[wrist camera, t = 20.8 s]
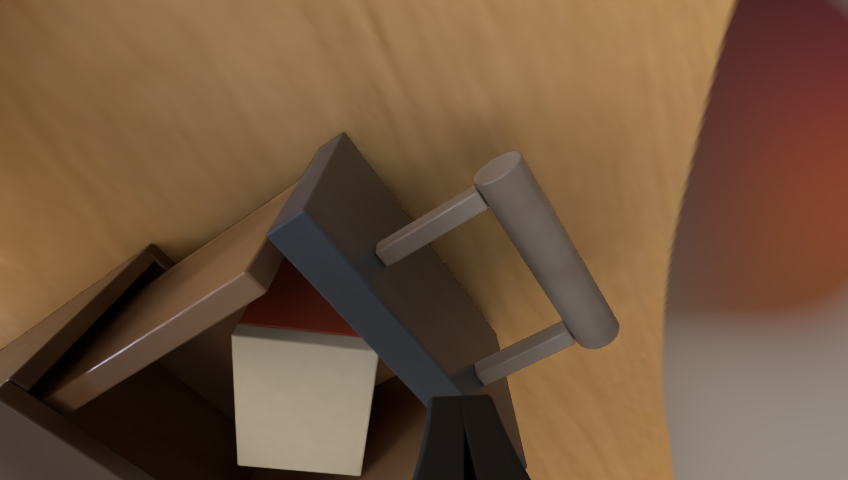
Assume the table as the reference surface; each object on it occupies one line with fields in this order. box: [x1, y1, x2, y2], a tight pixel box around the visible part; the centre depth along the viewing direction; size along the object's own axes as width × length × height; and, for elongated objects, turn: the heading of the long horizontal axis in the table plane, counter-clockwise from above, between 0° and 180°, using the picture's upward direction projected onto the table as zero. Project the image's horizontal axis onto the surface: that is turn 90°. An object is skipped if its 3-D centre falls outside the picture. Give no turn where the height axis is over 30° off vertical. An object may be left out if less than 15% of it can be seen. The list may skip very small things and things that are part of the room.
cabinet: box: [0, 244, 175, 480], centre depth 20 cm, size 14×12×8 cm
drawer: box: [28, 132, 619, 480], centre depth 17 cm, size 18×11×7 cm, turn 123°
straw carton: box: [231, 261, 379, 476], centre depth 17 cm, size 6×4×4 cm
